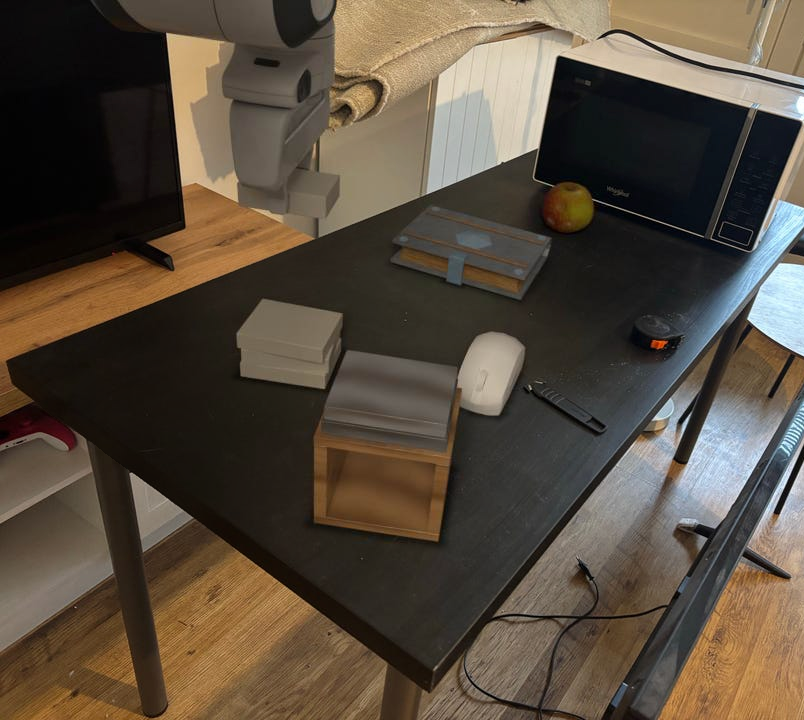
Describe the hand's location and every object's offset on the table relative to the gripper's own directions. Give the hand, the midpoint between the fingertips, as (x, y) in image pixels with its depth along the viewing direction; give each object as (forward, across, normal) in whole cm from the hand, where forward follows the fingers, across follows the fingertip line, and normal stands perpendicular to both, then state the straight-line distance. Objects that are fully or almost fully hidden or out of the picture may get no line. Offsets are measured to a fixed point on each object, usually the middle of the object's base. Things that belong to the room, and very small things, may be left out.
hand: (289, 197), depth 77 cm
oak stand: (+22, +19, +15) cm, 33 cm away
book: (+22, -33, +19) cm, 44 cm away
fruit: (+22, -51, +34) cm, 65 cm away
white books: (+22, 0, 0) cm, 22 cm away
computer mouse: (+22, -2, +24) cm, 32 cm away
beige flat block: (0, 0, 0) cm, 0 cm away
